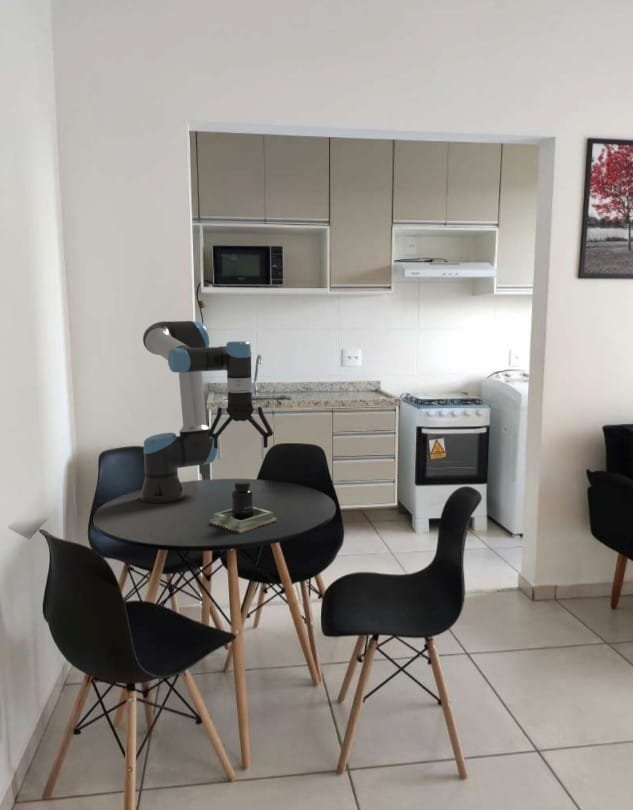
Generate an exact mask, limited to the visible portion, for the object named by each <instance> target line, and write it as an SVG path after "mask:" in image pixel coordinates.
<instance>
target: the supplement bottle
mask: <svg viewBox="0 0 633 810" xmlns="http://www.w3.org/2000/svg"><path fill="white" fill-rule="evenodd" d="M254 505H255V504H254V492H253V490H252V489H251V482H250V481H249V480H239V481H238V480H237V481H235V482H234V490H233V491H232V492H231V509H232V518H234V519H238V520H245V519H248V518H251V517H254V507H255V506H254Z"/></svg>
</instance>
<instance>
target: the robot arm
mask: <svg viewBox="0 0 633 810" xmlns="http://www.w3.org/2000/svg"><path fill="white" fill-rule="evenodd" d="M142 335H143V336H142V343H143V346H144V347H145V349H146V350H147V351H148V352H150V353H151V354H153V355H155V356H156V355H157V356H161V357H163V359H165V360H167V365H168V368H169V370H170V371H171V372H172V373H178V380H179V391H180V404H181V415H182V416H181V417H182V427H181V429H180V430H179V431H178V432H179V435H177V434H176V433H175V432H166V433H165V432H163V433H158V434H153V435H151V436H148V437H146V438H145V440H144V441H143V458H144V459H143V461H144V462H143V463H144V465H143V466H144V482H143V485H142V487H141V488H142V489H141V492H140V500H141V501H142V502H144V503H149V504H164V503H172V502H175V501H179V500H181V499H183V498H184V489H183V486H182V484H181V480H180V478H179V476H178V475H179V472H178V469H180V468H189V467H197V466H204V465H208V464H212V463H213V462H214V461H215V460H216V457H217V460H221V459H222V437H221V436H220V435H221V434H222V433H223V431H224V430H225V429H226V428H227V426H228V425H229V424H230V423H231V422H232V420H233V421H234V422H239V421H241V422H245V421H248V422H249V423H251V425H252V426H253V427H254V428H255V430H257V431H258V433H259V434H260V435H261V438H260V442H261V443H260V445H261V447H260V448H261V449H260V452H261V457H260V458H261V459H264V460H265V449H267V448H268V444H269V443H268V438H269V437H272V436H273V435H274V431H273V429H272V427H271V426H270V423H269V422H268V420H267V418H266V416H265V413H264V409H263V406H262V405H259V406H255V407H254V406H253V393H252V391H251V390H252V388H253V386H252V384H253V383H252V379H253V378H252V350H251V348H252V347H251V343H250V342H249V341H247V340H246V341H243V340H241V341H239V340H238V341H227V342H226V345H224V346H222V345H221V346H217V347H216V346H211V347H210V336H209V332H208V330H207V327H206V326H205V325H204V323H202V321H201V322H200V321H194V320H193V321H192V320H185V321H183V320H182V321H177V320H175V321H172V320H171V321H168V320H167V321H165V320H164V321H159V322H155V323H153V324H151V325H150V326H148V327H147V328H146V330H145V331H144V333H143V334H142ZM218 371H226V377H227V378H226V382H227V383H226V386H227V387H226V388H227V389H226V390H228V392H227V407H223V406H221V405H220V406H219V407H217V413H216V416H215V418H214V420H213V422H212V425H211V426H208V424H207V419H206V417H207V416H206V404H205V393H204V381H203V372H218ZM225 412H226V414H228V415H229V417H228V418H227V419H226V421H224V423H223V424H222V425H221V426H220V427H219V429H218V430H217V431H216V432H215V430H216V429H217V426H218V424H219V422H220V419H221V418H222V416H223V415H224V414H225ZM253 412H255V413H256V414H257V415H258V416H259V419H260V420H261V422H262V424H263V426H264V428H265V429H266V430H265V429H264V428H263V427H262V426H261V424H259V422H258V421H256V419H255V418H254V416H253ZM266 431H267V432H266Z"/></svg>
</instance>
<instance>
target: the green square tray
mask: <svg viewBox="0 0 633 810" xmlns="http://www.w3.org/2000/svg"><path fill="white" fill-rule="evenodd" d="M274 521H277V522H278V518H277V517H274V512H273V511H269V510H266V509H263V508H259V507H255V506H254V517H251V518H248V519H245V520H238V519H234V518H232V508H229V509H224V510H222V511H218V512H215V513H213V518H212V519H210V520H209V522H210V524H212V523H213V524H212V525H215V524H216V525H215V526H218V525H219V526H218V527H221V526H222V527H221V528H224V527H225V528H224V529H227V528H228V529H227V530H230V529H231V530H230V531H233V530H234V531H233V532H236V531H237V532H236V533H239V534H242V533H245V532H248V531H252V530H254V528H255V529H257V527H258V528H260V527H259V526H261V527H263V526H262V525H264V526H266V525H265V524H267V525H269V524H268V523H270V524H272V523H271V522H274ZM274 523H275V522H274ZM251 529H252V530H251Z"/></svg>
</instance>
